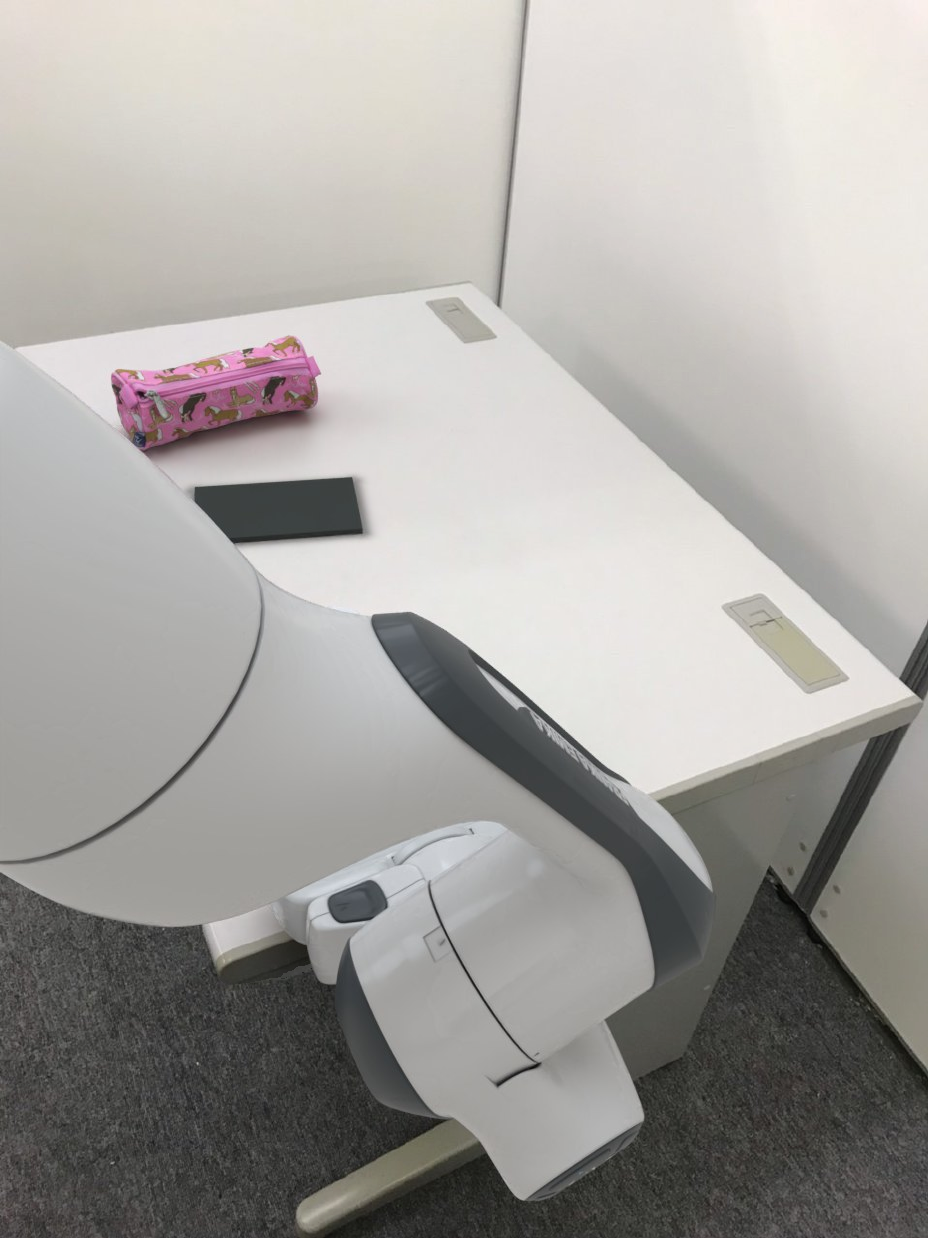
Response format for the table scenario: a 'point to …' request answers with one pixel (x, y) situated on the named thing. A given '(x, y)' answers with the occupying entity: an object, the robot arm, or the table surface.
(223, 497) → the mat
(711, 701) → the table surface
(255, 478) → the table surface
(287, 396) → the pencil case
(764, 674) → the table surface
